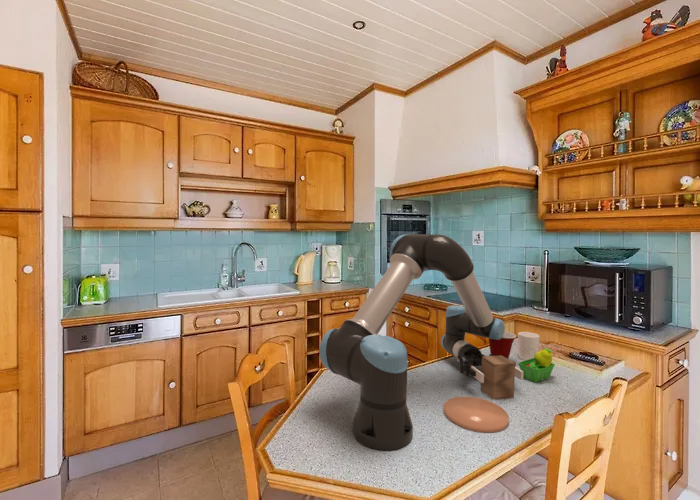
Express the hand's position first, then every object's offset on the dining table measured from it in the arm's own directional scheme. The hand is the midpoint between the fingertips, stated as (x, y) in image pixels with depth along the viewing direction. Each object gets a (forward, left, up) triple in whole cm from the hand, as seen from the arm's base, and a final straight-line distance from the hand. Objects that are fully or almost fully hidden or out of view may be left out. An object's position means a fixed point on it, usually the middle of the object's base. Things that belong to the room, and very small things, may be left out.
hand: (502, 377), depth 106 cm
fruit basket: (+22, +11, -7) cm, 26 cm away
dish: (-14, -9, -6) cm, 18 cm away
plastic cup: (+18, +27, -7) cm, 34 cm away
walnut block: (0, +2, -6) cm, 7 cm away
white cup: (+32, +29, -7) cm, 44 cm away
